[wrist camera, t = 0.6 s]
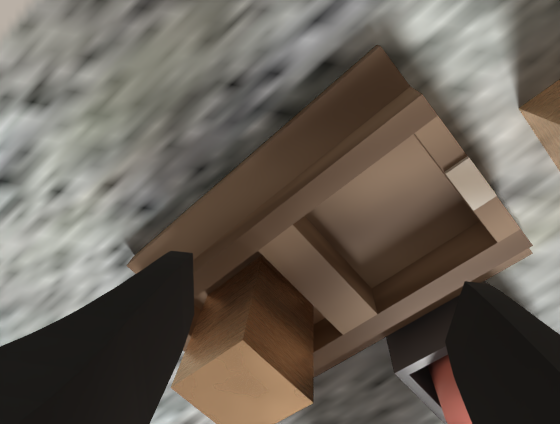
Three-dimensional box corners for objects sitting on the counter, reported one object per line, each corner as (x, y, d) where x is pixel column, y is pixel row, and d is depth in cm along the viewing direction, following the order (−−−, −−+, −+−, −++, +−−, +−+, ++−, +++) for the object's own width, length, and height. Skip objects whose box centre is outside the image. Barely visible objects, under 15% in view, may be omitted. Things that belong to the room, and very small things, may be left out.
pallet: (522, 242, 20) (558, 280, 17) (280, 384, 25) (276, 430, 22) (377, 44, 16) (390, 48, 14) (134, 255, 22) (106, 291, 19)
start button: (530, 365, 21) (562, 415, 18) (456, 400, 22) (475, 452, 20) (486, 312, 20) (514, 357, 17) (410, 353, 21) (425, 401, 19)
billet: (313, 305, 21) (313, 403, 16) (258, 341, 22) (240, 442, 17) (262, 254, 20) (242, 340, 15) (207, 295, 21) (170, 387, 16)
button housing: (538, 346, 22) (569, 391, 20) (443, 392, 24) (459, 439, 22) (481, 276, 21) (507, 314, 18) (384, 331, 23) (394, 373, 20)
